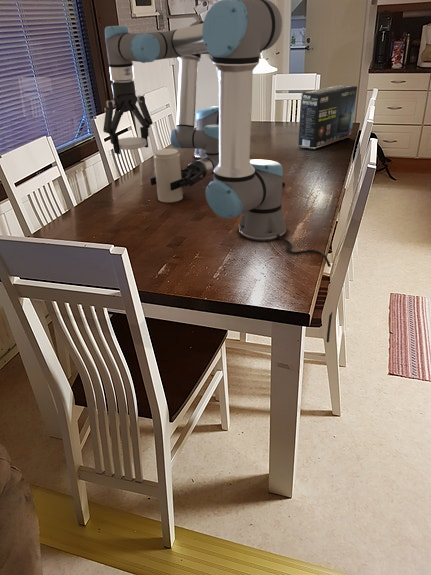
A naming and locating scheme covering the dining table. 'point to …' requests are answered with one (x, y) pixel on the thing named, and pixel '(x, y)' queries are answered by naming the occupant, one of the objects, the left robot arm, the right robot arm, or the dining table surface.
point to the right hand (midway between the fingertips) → (131, 150)
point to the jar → (167, 174)
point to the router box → (326, 115)
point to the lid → (132, 143)
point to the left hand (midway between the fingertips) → (161, 184)
